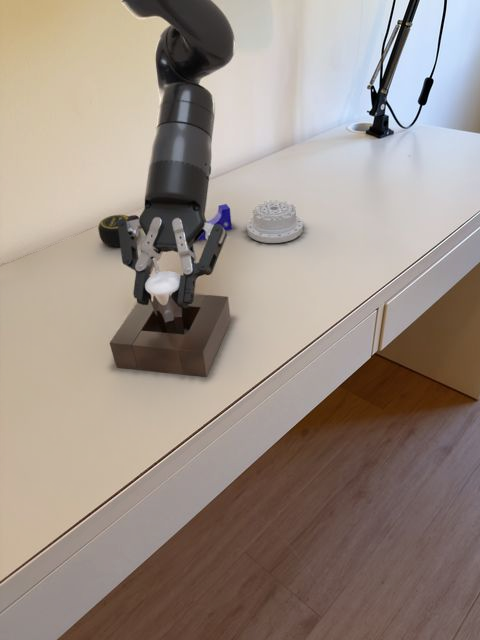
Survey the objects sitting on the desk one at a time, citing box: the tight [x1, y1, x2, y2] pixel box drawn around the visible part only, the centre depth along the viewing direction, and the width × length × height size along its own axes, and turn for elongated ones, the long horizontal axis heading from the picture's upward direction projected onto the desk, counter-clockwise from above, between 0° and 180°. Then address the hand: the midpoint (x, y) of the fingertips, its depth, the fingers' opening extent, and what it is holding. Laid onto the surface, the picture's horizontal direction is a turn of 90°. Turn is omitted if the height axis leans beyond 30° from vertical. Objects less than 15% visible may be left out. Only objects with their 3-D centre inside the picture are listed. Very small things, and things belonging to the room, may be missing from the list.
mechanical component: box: [246, 199, 304, 244], centre depth 93 cm, size 10×4×10 cm
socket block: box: [109, 293, 232, 378], centre depth 69 cm, size 12×12×4 cm
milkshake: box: [145, 258, 188, 335], centre depth 66 cm, size 4×5×10 cm
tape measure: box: [97, 214, 140, 247], centre depth 93 cm, size 7×7×4 cm
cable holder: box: [196, 203, 233, 242], centre depth 94 cm, size 8×4×4 cm, turn 112°
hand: (162, 304), depth 64 cm, fingers closed on milkshake, 4 cm apart
